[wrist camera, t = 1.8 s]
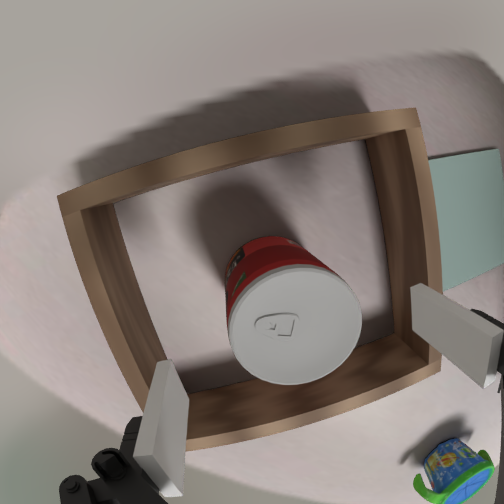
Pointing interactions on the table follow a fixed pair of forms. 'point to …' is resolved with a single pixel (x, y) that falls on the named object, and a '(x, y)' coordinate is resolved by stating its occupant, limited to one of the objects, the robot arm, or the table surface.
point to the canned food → (288, 312)
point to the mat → (469, 214)
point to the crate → (259, 391)
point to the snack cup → (454, 473)
